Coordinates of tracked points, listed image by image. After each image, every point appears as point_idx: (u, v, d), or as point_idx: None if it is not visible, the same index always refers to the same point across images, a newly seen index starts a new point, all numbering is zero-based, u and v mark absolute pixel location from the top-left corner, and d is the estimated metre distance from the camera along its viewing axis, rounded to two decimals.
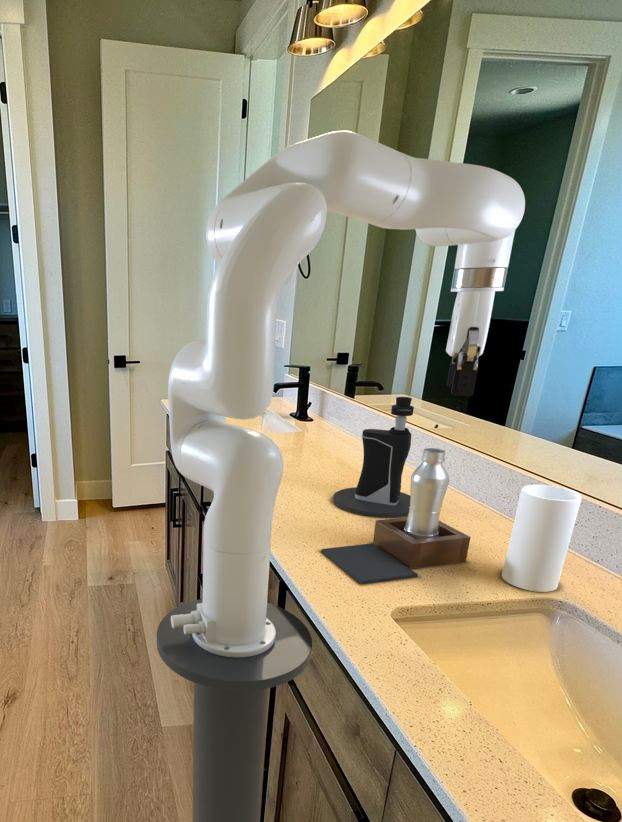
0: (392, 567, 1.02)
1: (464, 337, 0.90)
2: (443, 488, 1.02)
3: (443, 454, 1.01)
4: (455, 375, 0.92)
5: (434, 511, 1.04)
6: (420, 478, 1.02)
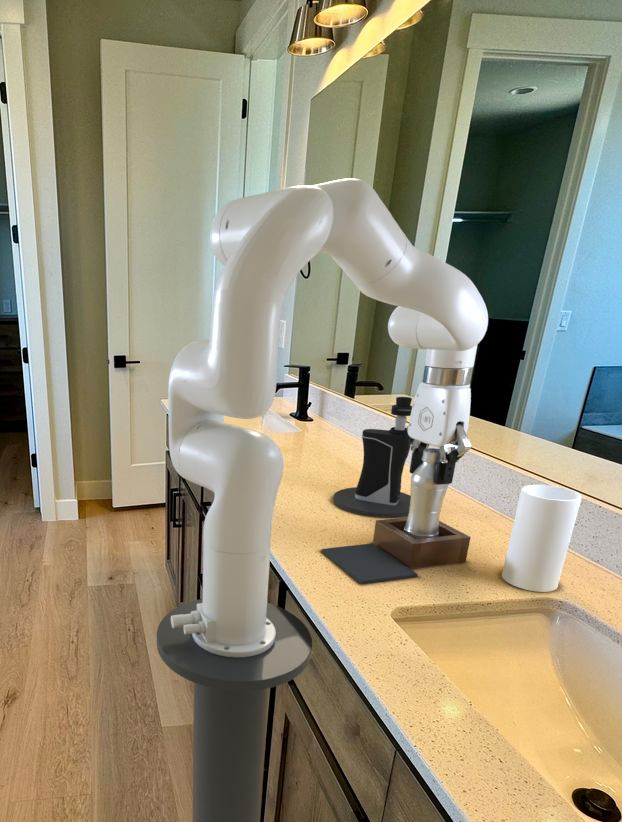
0: (392, 567, 1.02)
1: (453, 431, 0.96)
2: (443, 488, 1.02)
3: None
4: (440, 467, 0.99)
5: (434, 511, 1.04)
6: (420, 478, 1.02)
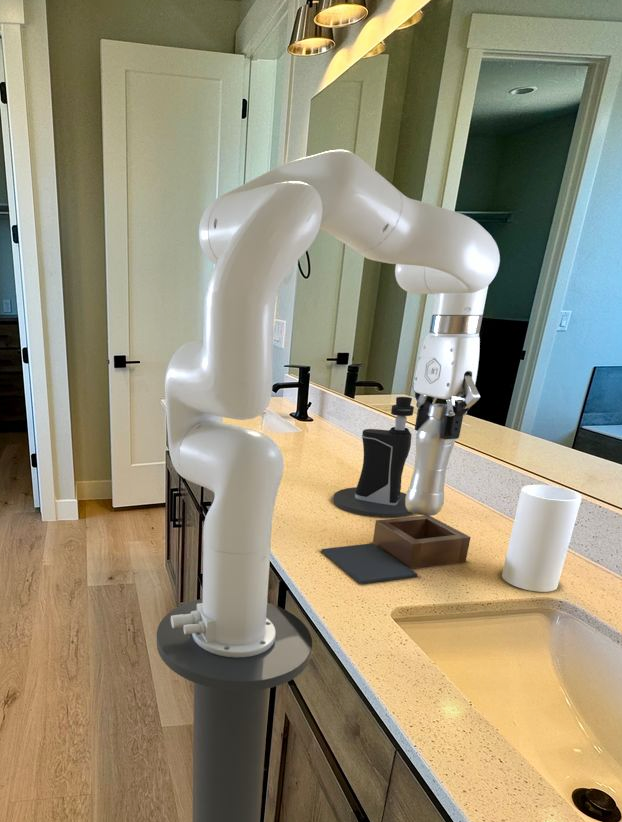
0: (392, 567, 1.02)
1: (461, 381, 0.93)
2: (450, 444, 0.99)
3: None
4: (446, 421, 0.96)
5: (440, 468, 1.01)
6: (426, 434, 0.99)
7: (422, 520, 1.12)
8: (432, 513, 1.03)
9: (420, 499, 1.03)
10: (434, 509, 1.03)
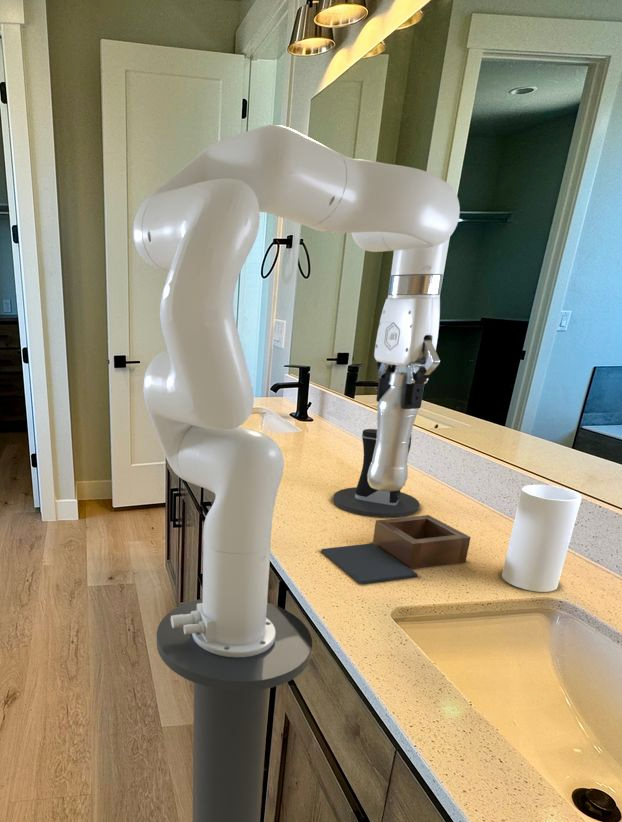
0: (392, 567, 1.02)
1: (420, 345, 0.87)
2: (412, 414, 0.93)
3: None
4: (407, 389, 0.90)
5: (402, 440, 0.95)
6: (387, 404, 0.94)
7: (422, 520, 1.12)
8: (395, 489, 0.98)
9: (381, 474, 0.97)
10: (396, 484, 0.97)
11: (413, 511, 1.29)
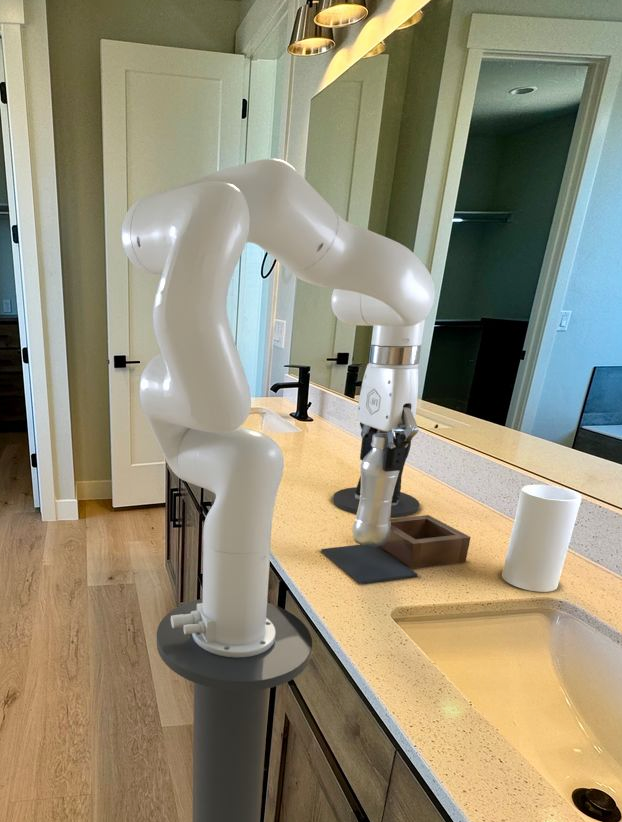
0: (392, 567, 1.02)
1: (400, 413, 0.90)
2: (393, 475, 0.96)
3: None
4: (388, 453, 0.93)
5: (384, 499, 0.98)
6: (369, 465, 0.97)
7: (422, 520, 1.12)
8: (378, 544, 1.01)
9: (365, 531, 1.00)
10: (380, 540, 1.00)
11: (413, 511, 1.29)
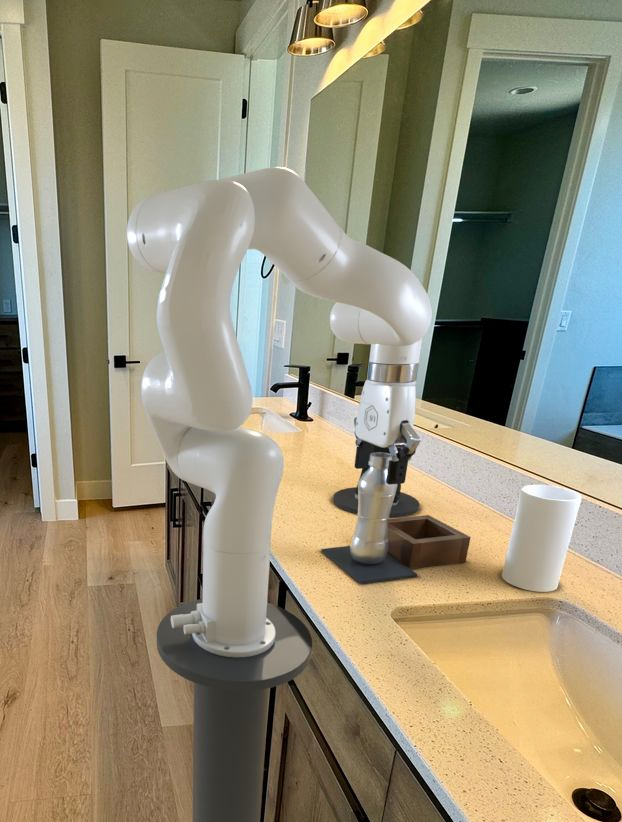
0: (392, 567, 1.02)
1: (397, 430, 0.91)
2: (390, 494, 0.98)
3: (390, 459, 0.96)
4: (391, 466, 0.93)
5: (381, 518, 0.99)
6: (366, 484, 0.98)
7: (422, 520, 1.12)
8: (376, 562, 1.02)
9: (363, 548, 1.01)
10: (377, 558, 1.01)
11: (413, 511, 1.29)
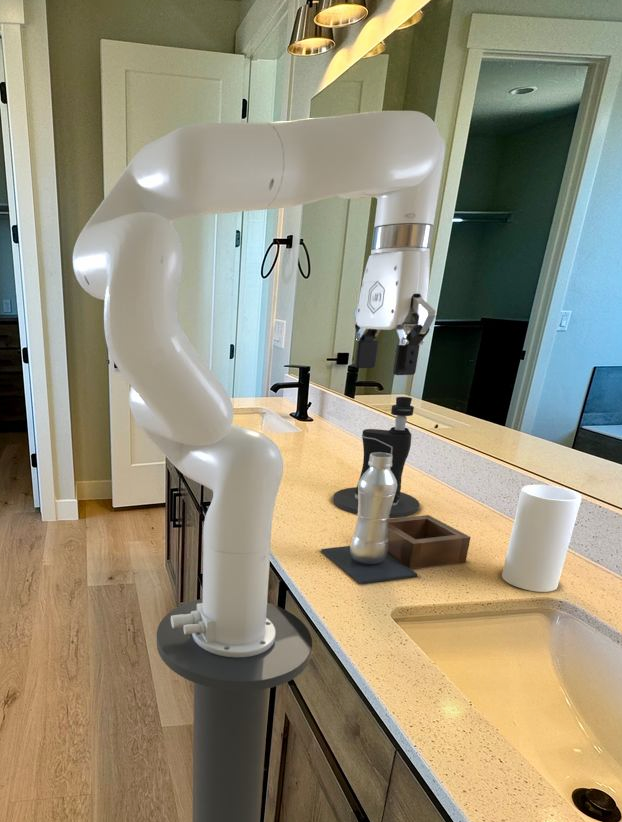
0: (392, 567, 1.02)
1: (408, 306, 0.76)
2: (390, 494, 0.98)
3: (390, 459, 0.96)
4: (399, 351, 0.78)
5: (381, 518, 0.99)
6: (366, 484, 0.98)
7: (422, 520, 1.12)
8: (376, 562, 1.02)
9: (363, 548, 1.01)
10: (377, 558, 1.01)
11: (413, 511, 1.29)
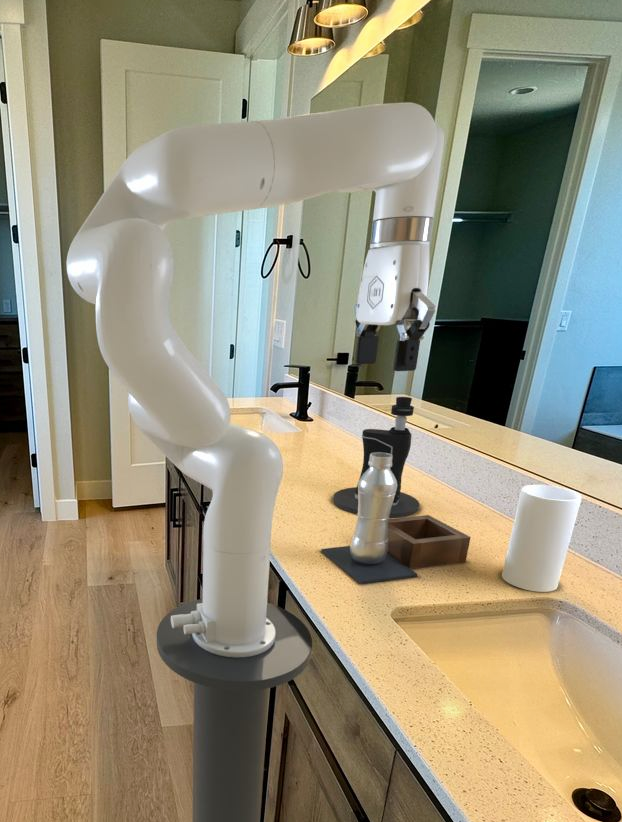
0: (392, 567, 1.02)
1: (407, 301, 0.75)
2: (390, 494, 0.98)
3: (390, 459, 0.96)
4: (399, 347, 0.77)
5: (381, 518, 0.99)
6: (366, 484, 0.98)
7: (422, 520, 1.12)
8: (376, 562, 1.02)
9: (363, 548, 1.01)
10: (377, 558, 1.01)
11: (413, 511, 1.29)
